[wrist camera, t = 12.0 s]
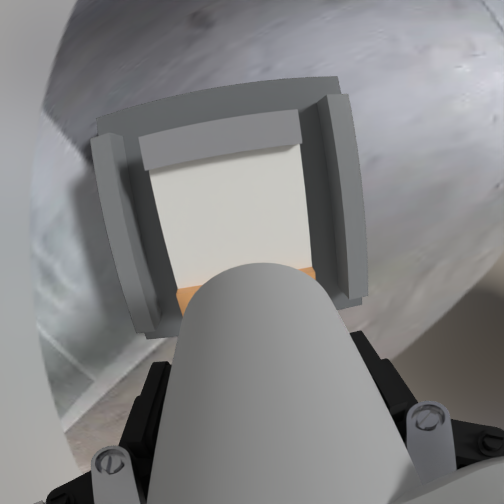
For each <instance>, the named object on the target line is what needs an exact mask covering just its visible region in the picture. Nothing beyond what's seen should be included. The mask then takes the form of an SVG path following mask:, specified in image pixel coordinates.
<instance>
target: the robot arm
mask: <svg viewBox="0 0 504 504" xmlns="http://www.w3.org/2000/svg"><path fill="white" fill-rule="evenodd" d="M349 334H350V336H351V338H352V340H353V342H354V343H355V345H356V347H357V349H358V351H359V353H360V355H361V357H362V359H363V361H364V363H365V365H366V367H367V369H368V371H369V372H370V374H371V376H372V378H373V380H374V382H375V384H376V386H377V388H378V390H379V392H380V394H381V396H382V398H383V400H384V403H385V405H386V407H387V409H388V411H389V413H390V415H391V417H392V419H393V421H394V423H395V425H396V427H397V430H398V432H399V434H400V436H401V438H402V440H403V442H404V445H405V447H406V449H407V451H408V453H409V456H410V458H411V460H412V462H413V465H414V467H415V469H416V471H417V474H418V476H419V478H420V481H421V483H422V486H419V487H417V488H414V489H412V490H409V491H407V492H405V493H404V494H403V495H402V496H400V497H399V498H398V499H397V500H395V501H394V502H393V503H392V504H504V431H503V430H502V429H500V428H497V427H492V426H485V425H479V424H474V423H468V422H463V421H458V420H453V419H450V415H449V412H448V410H447V409H446V408H445V406H443V405H442V404H440V403H438V402H434V401H424V402H420V403H418V402H417V400H416V399H415V397H414V396H413V394H412V393H411V391H410V390H409V388H408V387H407V385H406V384H405V383H404V381H403V379H402V378H401V376H400V375H399V373H398V372H397V370H396V369H395V368H394V366H393V365H392V363H391V362H390V361H389V360H388V359H387V358H385V359H382V360H381V359H380V357H379V356H378V354H377V353H376V351H375V350H374V348H373V347H372V345H371V344H370V342H369V341H368V340H367V338H366V337H365V335H364V334H363V332H362V331H356V332H352V333H349ZM171 367H172V365H170V364H169V362H167V361H163V362H153V363H152V365H151V368H150V370H149V373H148V376H147V378H146V381H145V384H144V387H143V389H142V392H141V395H140V396H137V397H136V399H135V401H134V404H133V406H132V409H131V412H130V414H129V417H128V420H127V423H126V426H125V428H124V431H123V434H122V437H121V440H120V443H119V445H118V446H107V447H104V448H102V449H100V450H99V451H97V452H96V454H95V455H94V456H93V458H92V460H91V471H89V472H87V473H85V474H83V475H81V476H79V477H78V478H76V479H74V480H72V481H70V482H68V483H66V484H64V485H62V486H60V487H58V488H56V489H54V490H53V491H51V492H50V494H49V495H48V496H47V499H46V502H45V503H44V502H43V501H39V502H37V503H35V504H147V498H148V491H149V484H150V478H151V472H152V465H153V459H154V454H155V448H156V442H157V437H158V431H159V426H160V421H161V415H162V410H163V405H164V400H165V395H166V390H167V386H168V381H169V376H170V372H171Z"/></svg>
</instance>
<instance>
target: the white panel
mask: <svg viewBox="0 0 504 504" xmlns="http://www.w3.org/2000/svg"><path fill="white" fill-rule="evenodd" d="M138 138H139V143H140V148H141V154H142V159H143V164H144V169H145V171H146V170H149V174H150V179H151V184H152V189H153V193H154V198H155V202H156V206H157V211H158V215H159V219H160V223H161V228H162V232H163V236H164V240H165V243H166V247H167V251H168V255H169V259H170V263H171V266H172V270H173V273H174V277H175V281H176V284H177V288H178V290H177V293H176V296H177V300H178V303H179V306H180V309H181V313H182V316H183V315H184V312H185V309H186V307H187V305H188V303H189V301H190V300H191V298H192V296H193V295H194V294H195V293H196V291H197V290H198V289H199V288H200V287H201V286H202V285H203V284H204V283H206V282H207V281H208V280H210V279H211V278H212V277H214V276H216V275H217V274H219V273H221V272H223V271H225V270H228V269H230V268H233V267H237V266H240V265H245V264H251V263H276V264H281V265H286V266H290V267H293V268H295V269H298V270H300V271H302V272H304V273H306V274H307V275H309V276H310V277H312V278H313V279H315V280H316V278H315V271H314V269H313V268H312V260H311V247H310V235H309V224H308V214H307V204H306V194H305V185H304V176H303V168H302V160H301V152H300V144H302V136H301V129H300V122H299V115H298V109H295V110H284V111H275V112H266V113H258V114H251V115H244V116H237V117H231V118H225V119H219V120H213V121H208V122H203V123H197V124H192V125H188V126H183V127H178V128H174V129H169V130H165V131H161V132H157V133H153V134H149V135H145V136H141V137H138Z"/></svg>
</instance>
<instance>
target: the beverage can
mask: <svg viewBox="0 0 504 504" xmlns="http://www.w3.org/2000/svg"><path fill="white" fill-rule="evenodd" d="M419 486H422V483H421V481H420V478H419V476H418V474H417V471H416V469H415V467H414V465H413V462H412V460H411V458H410V456H409V453H408V451H407V449H406V447H405V445H404V442H403V440H402V438H401V436H400V434H399V432H398V430H397V427H396V425H395V423H394V421H393V419H392V417H391V415H390V413H389V411H388V409H387V407H386V405H385V403H384V400H383V398H382V396H381V394H380V392H379V390H378V388H377V386H376V384H375V382H374V380H373V378H372V376H371V374H370V372H369V371H368V369H367V367H366V365H365V363H364V361H363V359H362V357H361V355H360V353H359V351H358V349H357V347H356V345H355V343H354V342H353V340H352V338H351V336H350V334H349V332H348V330H347V328H346V327H345V325H344V323H343V321H342V319H341V317H340V315H339V314H338V312H337V310H336V308H335V306H334V304H333V303H332V301H331V299H330V297H329V296H328V294H327V292H326V291H325V290H324V288H323V287H322V286H321V285H320V284H319V283H318V282H317V281H316V280H315V279H313V278H312V277H310V276H309V275H307V274H306V273H304V272H302V271H300V270H298V269H295V268H293V267H290V266H286V265H281V264H276V263H251V264H245V265H240V266H237V267H233V268H230V269H228V270H225V271H223V272H221V273H219V274H217V275H216V276H214V277H212V278H211V279H210V280H208V281H207V282H206V283H204V284H203V285H202V286H201V287H200V288H199V289H198V290H197V291H196V293H195V294H194V295H193V296H192V298H191V300H190V301H189V303H188V305H187V307H186V309H185V312H184V315H183V319H182V323H181V327H180V332H179V336H178V340H177V345H176V349H175V353H174V358H173V362H172V367H171V372H170V376H169V381H168V386H167V390H166V395H165V400H164V405H163V410H162V415H161V421H160V426H159V431H158V437H157V442H156V448H155V454H154V459H153V465H152V472H151V478H150V484H149V491H148V498H147V504H392V503H393V502H394V501H395V500H397V499H398V498H399V497H400V496H402V495H403V494H404V493H405V492H407V491H409V490H412V489H414V488H417V487H419Z"/></svg>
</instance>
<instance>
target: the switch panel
mask: <svg viewBox="0 0 504 504" xmlns="http://www.w3.org/2000/svg"><path fill="white" fill-rule="evenodd" d="M295 109H298V115H299V122H300V129H301V136H302V144H300V152H301V160H302V168H303V176H304V185H305V194H306V204H307V214H308V224H309V235H310V247H311V260H312V268H313V269H314V271H315V278H316V281H317V282H318V283H319V284H320V285H321V286H322V287H323V288H324V290H325V291H326V292H327V294H328V296H329V297H330V299H331V301H332V303H333V304H334V306H335V308H336V310H339V309H344V308H349V307H353V306H358V305H362V297H365V296H368V262H367V240H366V224H365V211H364V200H363V190H362V180H361V172H360V164H359V156H358V149H357V142H356V135H355V129H354V123H353V117H352V111H351V106H350V101H349V95H348V94H341V91H340V86H339V81H338V76H332V77H305V78H290V79H278V80H267V81H258V82H250V83H243V84H236V85H229V86H223V87H217V88H211V89H206V90H200V91H195V92H190V93H186V94H181V95H176V96H172V97H168V98H164V99H160V100H156V101H152V102H148V103H144V104H141V105H137V106H134V107H130V108H127V109H124V110H120V111H117V112H114V113H111V114H108V115H105V116H102V117H99V118H96V121H97V130H98V136H97V137H94V138H91V139H90V142H91V150H92V157H93V163H94V170H95V176H96V182H97V187H98V193H99V198H100V203H101V208H102V213H103V217H104V222H105V226H106V231H107V235H108V239H109V243H110V247H111V251H112V255H113V259H114V262H115V266H116V270H117V273H118V277H119V280H120V284H121V287H122V290H123V294H124V297H125V300H126V303H127V306H128V309H129V313H130V316H131V319H132V321H133V324H134V327H135V330H136V333H145V336H146V339H156V338H165V337H174V336H179V332H180V327H181V323H182V319H183V316H182V313H181V309H180V306H179V303H178V300H177V296H176V293H177V290H178V288H177V284H176V281H175V277H174V273H173V270H172V266H171V263H170V259H169V255H168V251H167V247H166V243H165V240H164V236H163V232H162V228H161V223H160V219H159V215H158V211H157V206H156V202H155V198H154V193H153V189H152V184H151V179H150V174H149V170H146V171H145V169H144V164H143V159H142V154H141V148H140V143H139V138H138V137H141V136H145V135H149V134H153V133H157V132H161V131H165V130H169V129H174V128H178V127H183V126H188V125H192V124H197V123H203V122H208V121H213V120H219V119H225V118H231V117H237V116H244V115H251V114H258V113H266V112H275V111H284V110H295Z"/></svg>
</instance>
